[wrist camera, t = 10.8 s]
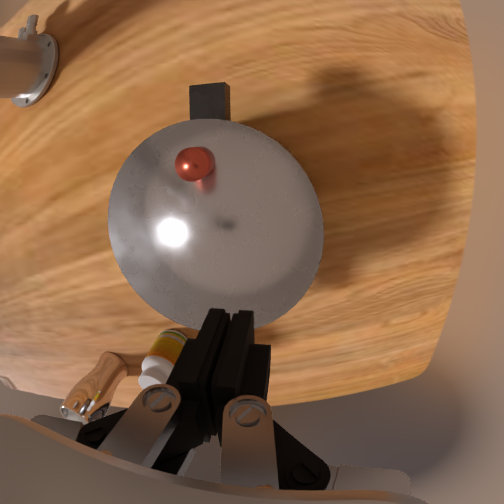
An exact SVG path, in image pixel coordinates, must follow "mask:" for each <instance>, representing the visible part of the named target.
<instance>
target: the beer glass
mask: <svg viewBox="0 0 504 504" xmlns="http://www.w3.org/2000/svg"><path fill="white" fill-rule="evenodd" d="M127 374H128V367H127V365H126V363H125V362H124V361H123V360H122V359H121V358H120V357H119V356H117V355H115V354H113V353H110V352H104V353H103V354H102V355H101V356H100V358H99V361H98V363H97V365H96V366H95V367H94V369H93V370H92V371H91V372H89V373H88V374H87V375H86V376H85V377H83V378H82V379H81V380H80V381H79V382H78V383H77V384H76V385H75V386H74V387H73V388H72V390H71V391H70V392H69V394H68V395H67V397H66V398H65V400H64V402H63V404H62V405H61V407H60V412H61V414H62V415H63V417H64V418H65V419H67V420H73V421H79V422H82V423H83V425H85V424H87V423H89V422H91V421H94V420H97V419H100V418H103V417H104V416H105V414H106V413H107V411H108V409H109V406H110V404H111V401H112V398H113V395H114V393H115V390H116V388H117V386H118V384H119V383H120V382H121V381H122V380H123V379H124V378H125V377H126V376H127Z"/></svg>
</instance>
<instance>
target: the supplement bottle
mask: <svg viewBox="0 0 504 504" xmlns="http://www.w3.org/2000/svg"><path fill="white" fill-rule="evenodd" d="M187 339H188V338H187V337H186V336H185V335H183V334H182V333H180V332H178V331H176V330H165V331H163V332H161V333H160V335H159V336H158V338H157V339H156V341H155V343H154V344H153V346H152V347H151V349H150V351H149V352H148V354H147V356H146V357H145V359H144V360H143V362H142V371H143V372H142V373H141V375H140V377H139V380H138V381H139V384H140V386H141V387H142V388H143V389H145V388H147V387H148V386H151V385H154V384H166V382H167V379H168V377H169V375H170V373H171V371H172V369H173V367H174V365H175V363H176V361H177V359H178V357H179V355H180V352H181V350H182V348H183V346H184V344H185V342H186V341H187Z"/></svg>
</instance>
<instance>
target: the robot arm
mask: <svg viewBox="0 0 504 504" xmlns="http://www.w3.org/2000/svg"><path fill="white" fill-rule="evenodd" d="M38 17H39V16H38V15H31V16H29V17H28V20H27V25H26V27H27V28H21V29H19V34H18V38H13V37H6V36H0V98H11V100H12V102H13V103H14V104H15V105H16V106H18V107H28V106H31V105H33V104H34V103H36V102H37V101H38V100H39V99H40V98H41V97H42V96H43V94H44V93H45V92H46V90H47V89H48V87H49V85H50V83H51V81H52V79H53V76H54V74H55V71H56V67H57V62H58V45H57V42H56V40H55V38H54V37H53V36H51V35H49V34H45V33H41V34H37V31H36V26H37V22H38ZM270 361H271V345H263V344H254V311H252V310H239V311H238V313H233V316H232V319H231V318H230V313H226V312H225V309H219V308H210V309H209V311H208V314H207V316H206V318H205V320H204V322H203V325H202V327H201V329H200V331H199V333H198V336H197V338H196V339H191V338H189V339H187V341H186V342H185V344H184V346H183V348H182V350H181V352H180V355H179V357H178V359H177V361H176V363H175V365H174V367H173V369H172V371H171V373H170V375H169V377H168V379H167V382H166V384H154V385H151V386H148V387H147V388H145V389H144V390H143V391H142V392H141V393H140V394H139V395H138V396H137V398H136V399H135V400H134V402H133V403H132V404H131V406H130V407H129V408H128V409H125V410H122V411H120V412H117V413H114V414H111V415H109V416H106V417H103V418H100V419H97V420H94V421H91V422H89V423H87V424H85V425H83V423H82V422H79V421H73V420H67V419H62V418H57V417H52V416H47V415H38V416H35V417H34V418H32V419H31V420H28V419H25V418H23V417H19V416H15V415H9V414H0V504H428V503H426V502H425V501H423V500H421V499H419V498H415V497H413V496H410V494H411V480H410V479H409V477H408V475H407V474H405V473H404V472H402V471H398V470H389V469H377V468H365V467H356V466H349V465H341V464H340V465H339V467H338V466H332V465H327V464H326V463H325V462H324V461H323V460H322V459H320V458H319V457H318V456H316V455H315V454H314V453H313V452H311V451H310V450H309V449H307V448H306V447H305V446H304V445H303V444H301V443H300V442H299V441H298V440H297V439H295V438H294V437H293V436H292V435H290V434H289V433H288V432H287V431H286V430H285V429H283V428H282V427H281V426H280V425H279V424H277V423H276V422H275V421H274V420H273V418H272V410H271V407H270V405H269V404H268V403H267V393H268V385H269V376H270ZM217 433H218V437H219V442H220V447H221V466H220V467H221V468H220V483H214V482H207V481H202V480H197V479H192V478H187V477H183V475H184V473H185V471H186V469H187V467H188V465H189V463H190V461H191V460H192V458H193V456H194V454H195V451H196V447H197V446H199V445H201V444H203V441H205V442H210V439H211V435H215V436H216V434H217Z"/></svg>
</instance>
